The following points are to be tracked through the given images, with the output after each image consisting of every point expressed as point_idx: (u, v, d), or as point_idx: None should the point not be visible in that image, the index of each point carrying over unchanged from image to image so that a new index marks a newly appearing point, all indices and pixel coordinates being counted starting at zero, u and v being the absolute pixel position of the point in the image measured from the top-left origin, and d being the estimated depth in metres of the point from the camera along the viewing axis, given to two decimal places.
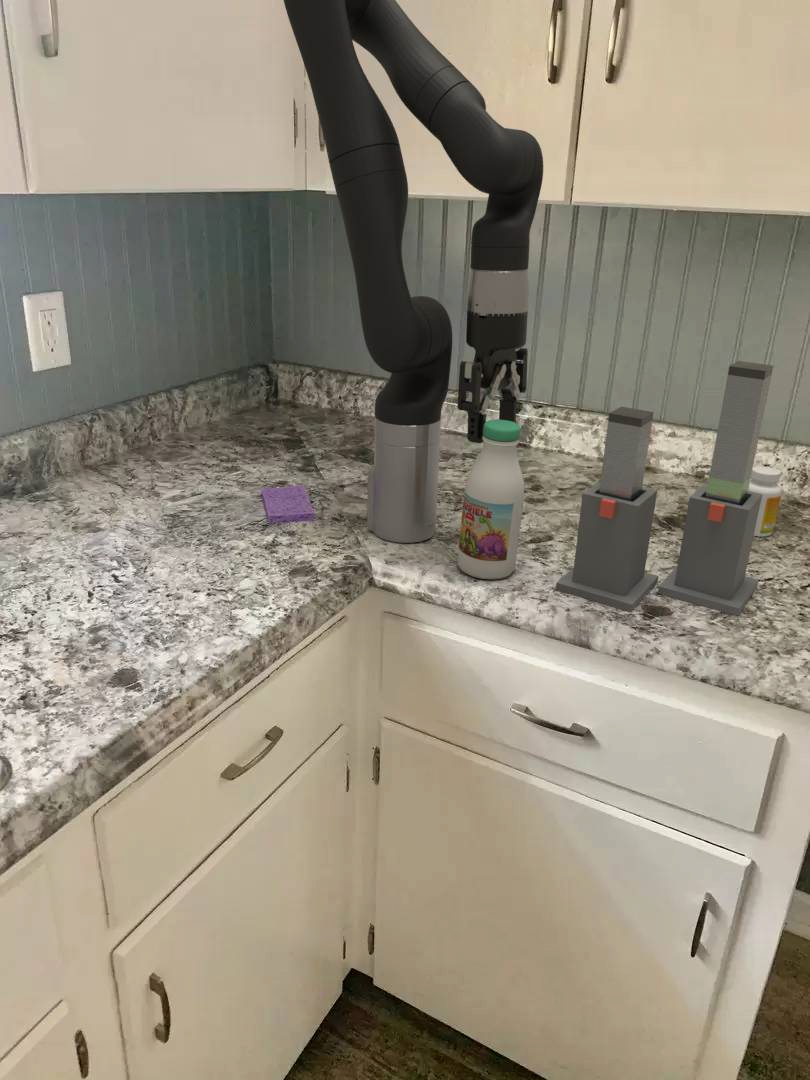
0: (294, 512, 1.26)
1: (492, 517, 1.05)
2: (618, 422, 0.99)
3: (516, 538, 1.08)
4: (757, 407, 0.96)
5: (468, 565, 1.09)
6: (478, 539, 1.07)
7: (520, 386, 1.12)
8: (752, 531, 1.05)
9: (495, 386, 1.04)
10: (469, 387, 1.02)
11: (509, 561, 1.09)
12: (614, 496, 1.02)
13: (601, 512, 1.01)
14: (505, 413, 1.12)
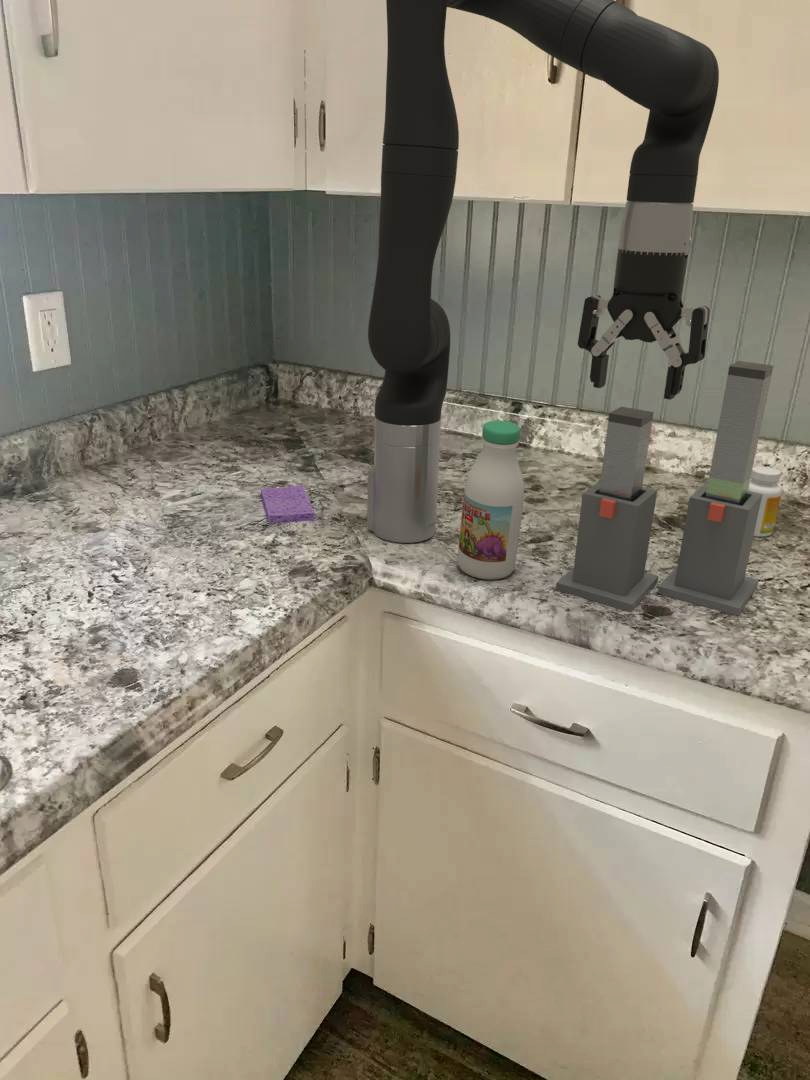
0: (294, 512, 1.26)
1: (491, 519, 1.05)
2: (618, 422, 0.99)
3: (515, 539, 1.08)
4: (757, 407, 0.96)
5: (467, 565, 1.09)
6: (477, 540, 1.07)
7: (594, 338, 1.00)
8: (752, 531, 1.05)
9: None
10: (705, 334, 0.92)
11: (508, 562, 1.09)
12: (614, 496, 1.02)
13: (601, 512, 1.01)
14: (603, 371, 1.00)
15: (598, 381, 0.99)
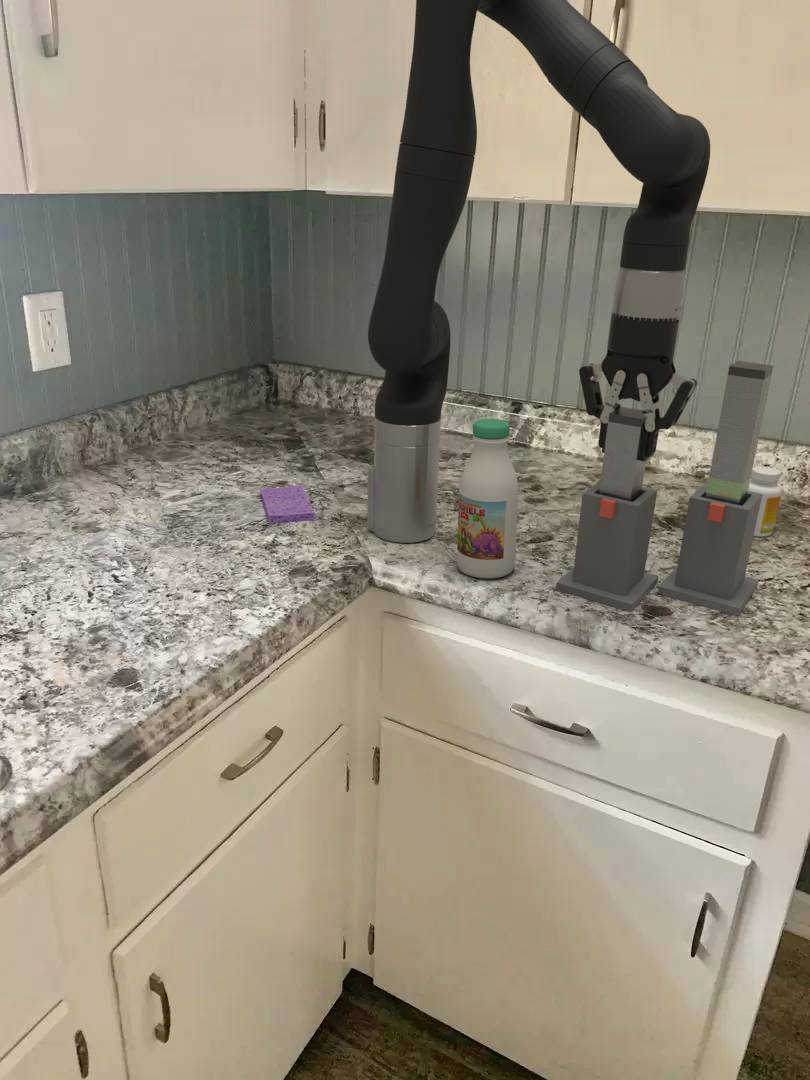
0: (294, 512, 1.26)
1: (485, 515, 1.05)
2: (618, 422, 0.99)
3: (512, 536, 1.08)
4: (757, 407, 0.96)
5: (466, 565, 1.09)
6: (474, 538, 1.07)
7: (602, 405, 1.02)
8: (752, 531, 1.05)
9: (656, 395, 0.99)
10: (684, 405, 0.96)
11: (507, 559, 1.09)
12: (614, 496, 1.02)
13: (601, 512, 1.01)
14: None
15: None
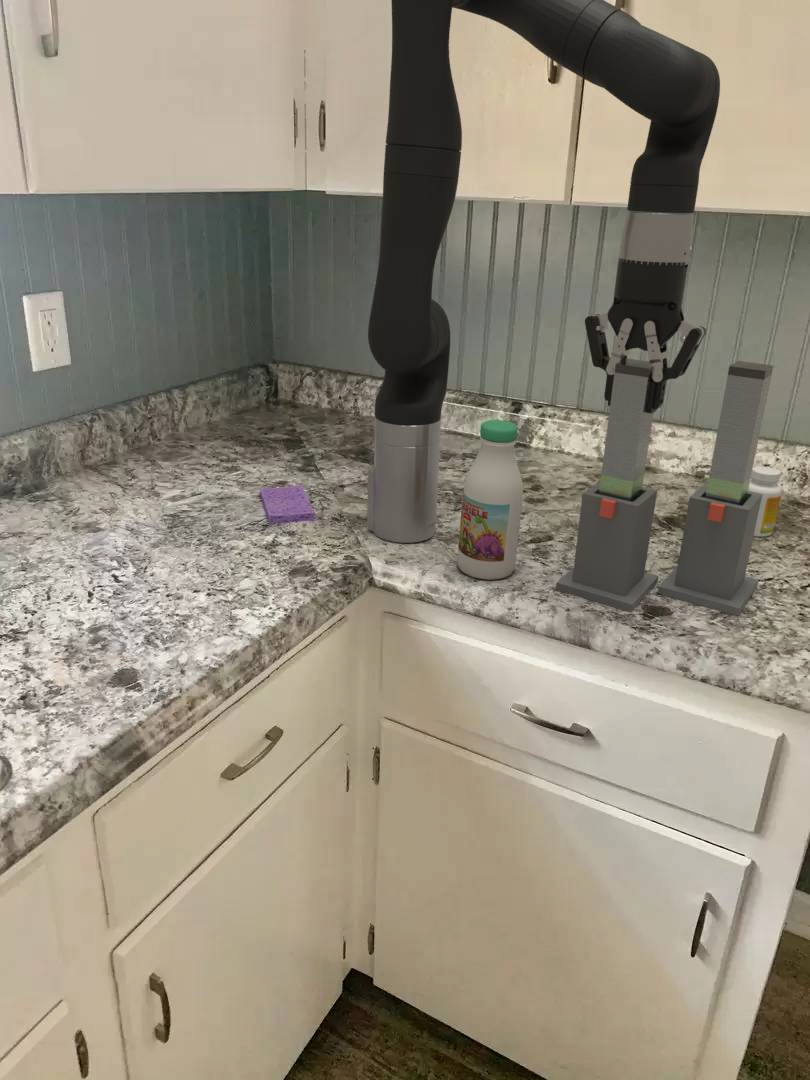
0: (294, 512, 1.26)
1: (488, 517, 1.05)
2: (625, 373, 0.96)
3: (514, 539, 1.08)
4: (757, 407, 0.96)
5: (466, 565, 1.09)
6: (475, 539, 1.07)
7: (608, 357, 1.00)
8: (752, 531, 1.05)
9: (663, 345, 0.97)
10: (692, 354, 0.94)
11: (507, 562, 1.08)
12: (620, 450, 1.00)
13: (601, 512, 1.01)
14: None
15: None
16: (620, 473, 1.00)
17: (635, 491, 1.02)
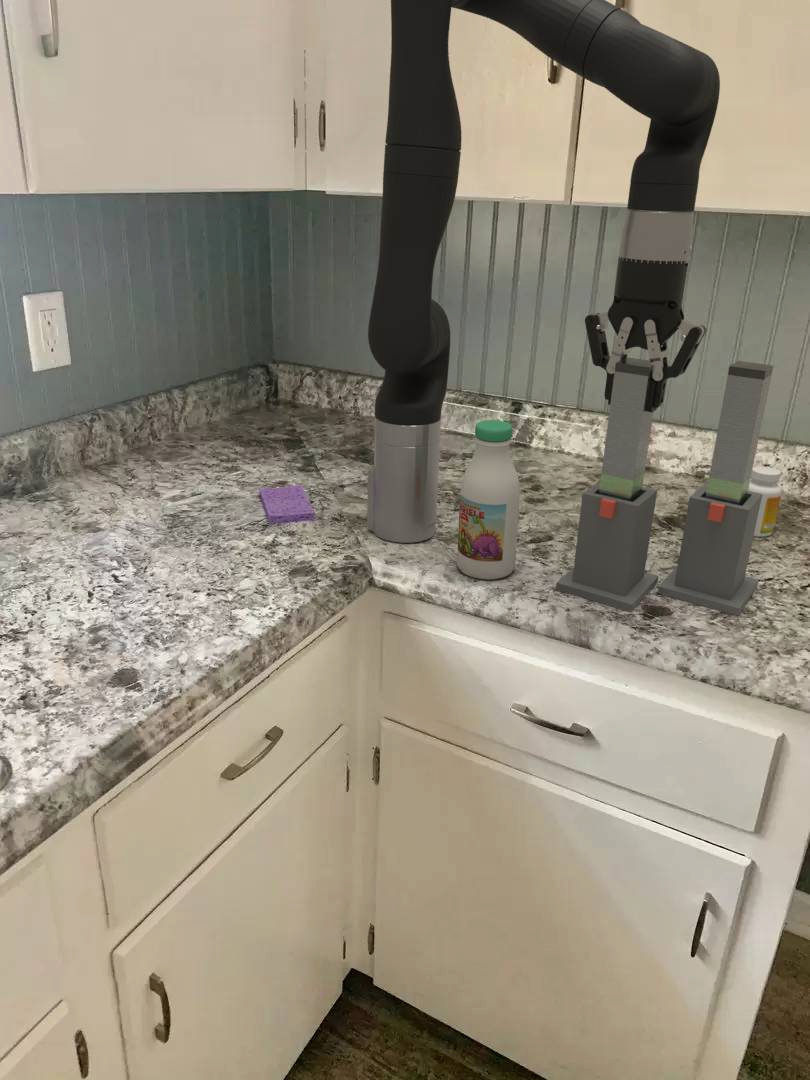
0: (294, 512, 1.26)
1: (485, 517, 1.05)
2: (625, 372, 0.96)
3: (512, 538, 1.08)
4: (757, 407, 0.96)
5: (465, 565, 1.09)
6: (473, 539, 1.07)
7: (609, 356, 1.00)
8: (752, 531, 1.05)
9: None
10: (693, 353, 0.94)
11: (506, 561, 1.08)
12: (620, 449, 0.99)
13: (601, 512, 1.01)
14: None
15: None
16: (620, 472, 1.00)
17: (635, 490, 1.02)
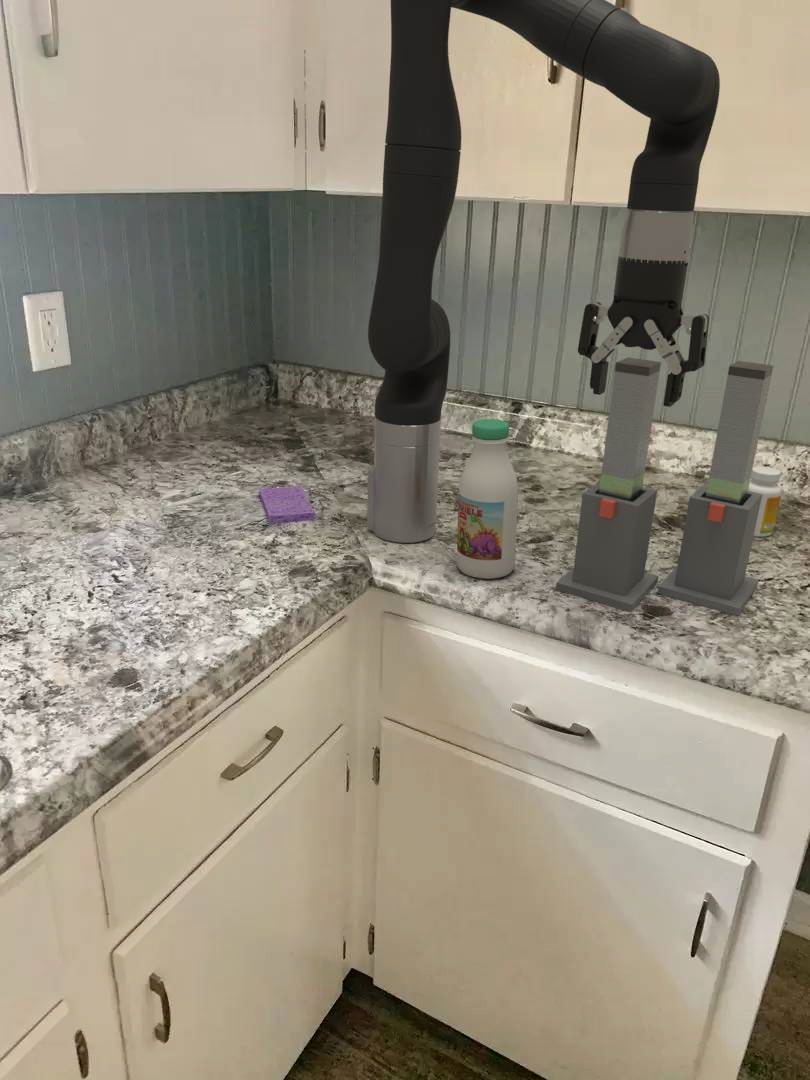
0: (294, 512, 1.26)
1: (483, 516, 1.05)
2: (625, 372, 0.96)
3: (511, 537, 1.08)
4: (757, 407, 0.96)
5: (464, 565, 1.10)
6: (472, 538, 1.07)
7: (594, 345, 1.00)
8: (752, 531, 1.05)
9: None
10: (704, 342, 0.93)
11: (505, 560, 1.08)
12: (620, 449, 0.99)
13: (601, 512, 1.01)
14: (603, 377, 1.00)
15: (598, 388, 1.00)
16: (620, 472, 1.00)
17: (635, 490, 1.02)
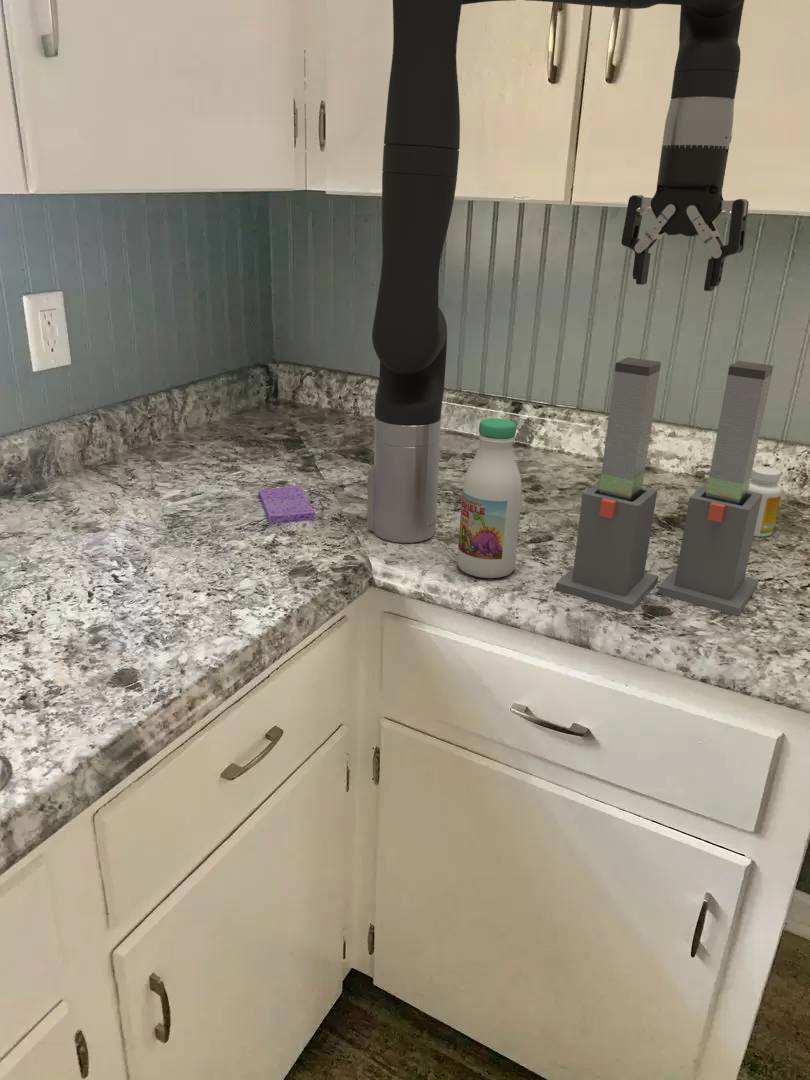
0: (294, 512, 1.26)
1: (485, 514, 1.06)
2: (625, 372, 0.96)
3: (512, 537, 1.08)
4: (757, 407, 0.96)
5: (464, 563, 1.10)
6: (473, 536, 1.07)
7: (636, 238, 1.06)
8: (752, 531, 1.05)
9: None
10: (744, 226, 0.98)
11: (505, 560, 1.08)
12: (620, 449, 0.99)
13: (601, 512, 1.01)
14: (645, 268, 1.05)
15: (640, 277, 1.05)
16: (620, 472, 1.00)
17: (635, 490, 1.02)
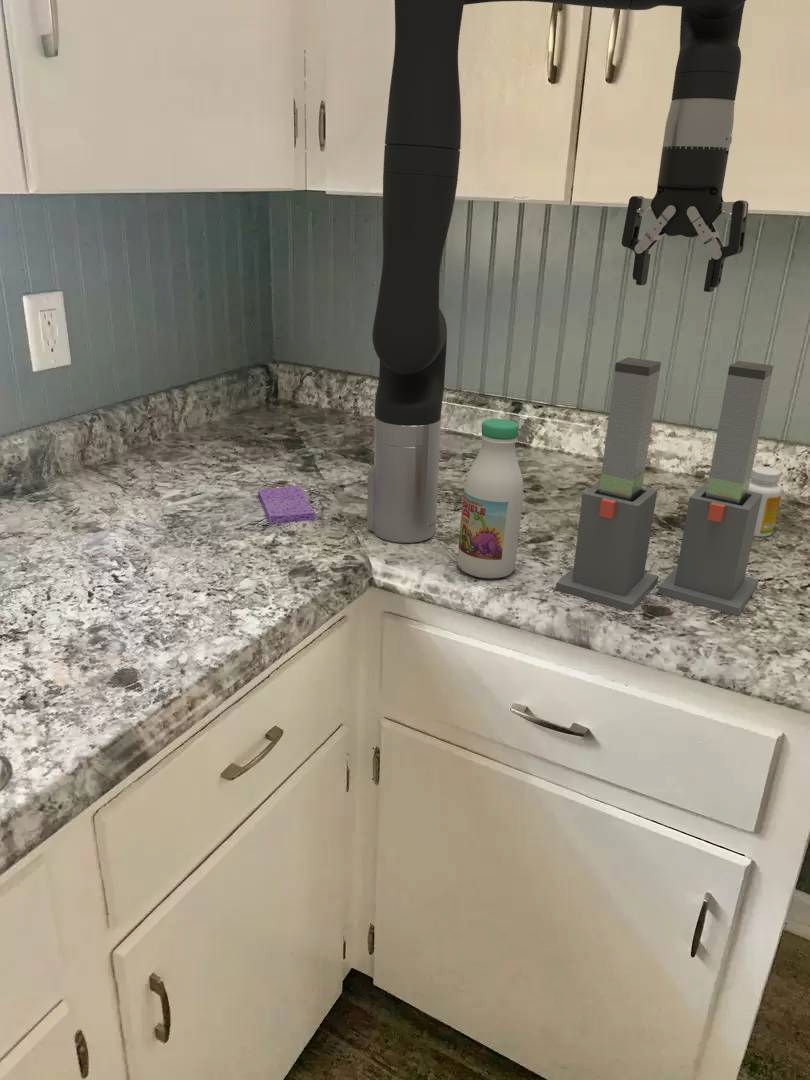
0: (294, 512, 1.26)
1: (486, 514, 1.05)
2: (625, 372, 0.96)
3: (513, 538, 1.08)
4: (757, 407, 0.96)
5: (464, 562, 1.10)
6: (473, 536, 1.07)
7: (636, 238, 1.06)
8: (752, 531, 1.05)
9: None
10: (744, 227, 0.99)
11: (505, 561, 1.08)
12: (620, 449, 0.99)
13: (601, 512, 1.01)
14: (645, 268, 1.06)
15: (640, 278, 1.06)
16: (620, 472, 1.00)
17: (635, 490, 1.02)
